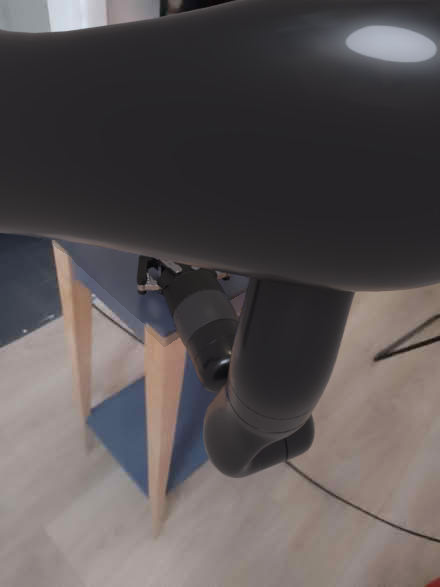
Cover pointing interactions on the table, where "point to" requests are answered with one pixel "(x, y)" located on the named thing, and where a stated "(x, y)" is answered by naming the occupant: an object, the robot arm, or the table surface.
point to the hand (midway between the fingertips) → (167, 240)
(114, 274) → the table surface
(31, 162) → the robot arm
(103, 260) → the table surface
